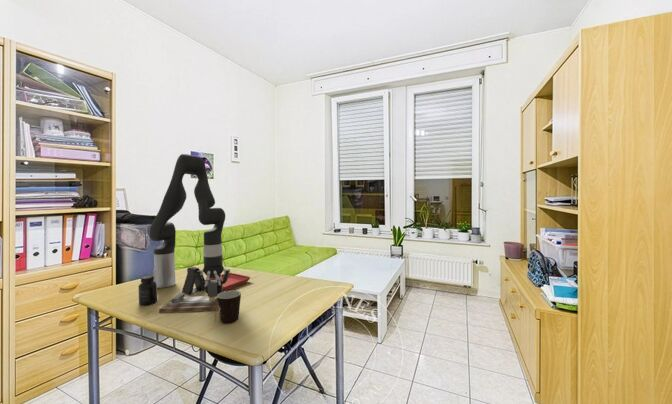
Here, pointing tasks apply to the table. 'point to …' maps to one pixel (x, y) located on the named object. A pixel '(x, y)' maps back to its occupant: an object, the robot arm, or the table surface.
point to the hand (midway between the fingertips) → (214, 293)
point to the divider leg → (212, 290)
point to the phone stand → (192, 282)
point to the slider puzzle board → (189, 304)
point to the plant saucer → (233, 280)
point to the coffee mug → (229, 306)
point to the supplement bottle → (147, 291)
